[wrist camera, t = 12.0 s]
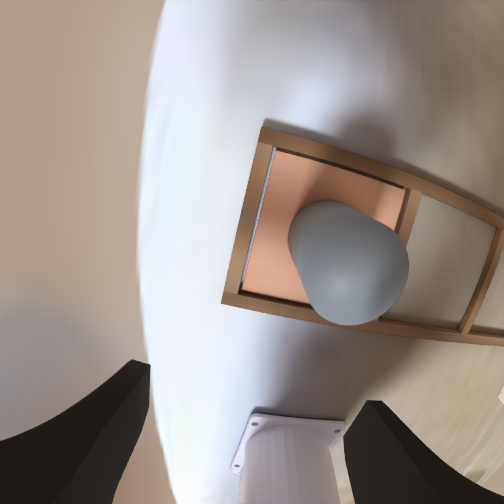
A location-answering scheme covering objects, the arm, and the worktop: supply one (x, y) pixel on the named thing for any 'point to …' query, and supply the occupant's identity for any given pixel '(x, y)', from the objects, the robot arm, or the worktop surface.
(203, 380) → the worktop surface
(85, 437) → the robot arm
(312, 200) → the board
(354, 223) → the grey rounded cylinder
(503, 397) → the die
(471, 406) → the worktop surface
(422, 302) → the worktop surface
